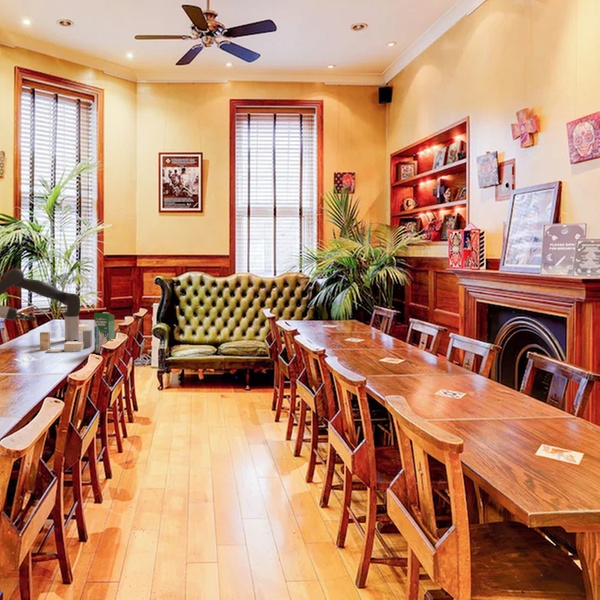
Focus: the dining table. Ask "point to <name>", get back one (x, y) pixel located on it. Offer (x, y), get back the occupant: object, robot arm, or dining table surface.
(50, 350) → the tile
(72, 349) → the base block
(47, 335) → the maple block
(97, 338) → the milk carton
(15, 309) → the robot arm
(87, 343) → the slate block
